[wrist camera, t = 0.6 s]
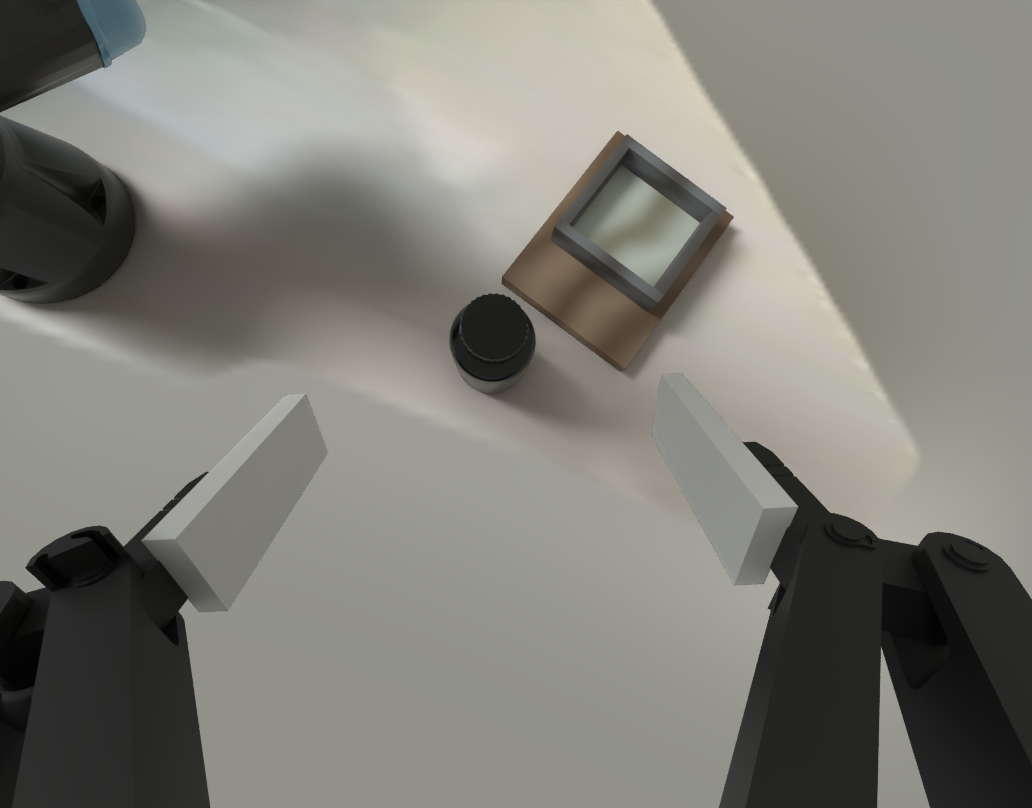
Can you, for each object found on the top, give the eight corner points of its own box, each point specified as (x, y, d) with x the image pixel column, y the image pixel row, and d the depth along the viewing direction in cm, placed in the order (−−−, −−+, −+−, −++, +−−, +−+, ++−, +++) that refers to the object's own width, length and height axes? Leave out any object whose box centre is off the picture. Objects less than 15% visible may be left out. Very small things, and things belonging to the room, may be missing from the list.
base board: (501, 283, 39) (503, 265, 36) (613, 141, 42) (626, 110, 38) (620, 371, 39) (635, 363, 35) (725, 224, 42) (750, 202, 38)
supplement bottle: (452, 390, 38) (435, 367, 26) (461, 322, 39) (449, 270, 27) (521, 399, 39) (536, 380, 27) (529, 332, 39) (547, 284, 27)
